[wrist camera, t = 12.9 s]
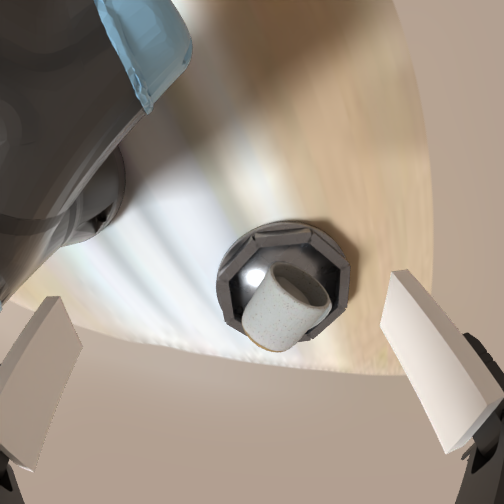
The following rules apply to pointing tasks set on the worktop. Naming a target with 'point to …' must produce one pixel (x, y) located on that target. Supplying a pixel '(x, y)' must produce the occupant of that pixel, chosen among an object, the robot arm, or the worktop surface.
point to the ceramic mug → (284, 307)
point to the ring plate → (289, 251)
